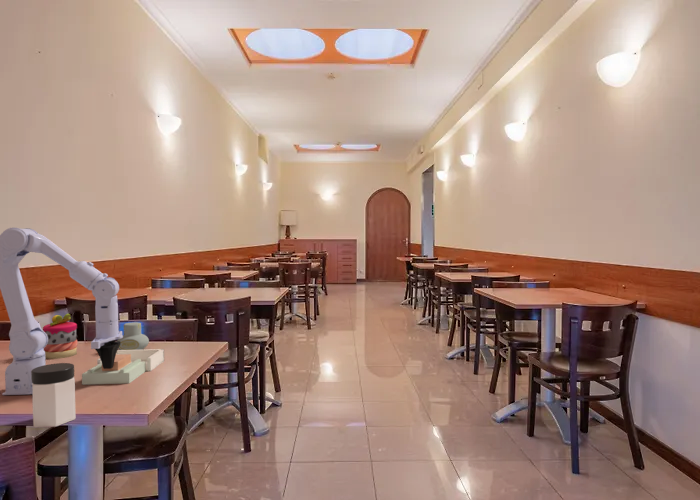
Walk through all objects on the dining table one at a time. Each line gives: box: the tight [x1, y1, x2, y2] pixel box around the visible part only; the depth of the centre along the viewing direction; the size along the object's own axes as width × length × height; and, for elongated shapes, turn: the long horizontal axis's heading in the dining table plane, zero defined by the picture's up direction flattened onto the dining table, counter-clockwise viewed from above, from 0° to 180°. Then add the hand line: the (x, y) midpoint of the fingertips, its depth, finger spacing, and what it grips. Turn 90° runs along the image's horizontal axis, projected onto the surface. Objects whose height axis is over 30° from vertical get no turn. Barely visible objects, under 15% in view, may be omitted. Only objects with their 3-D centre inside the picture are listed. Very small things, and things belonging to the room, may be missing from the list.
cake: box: [42, 313, 79, 360], centre depth 164 cm, size 10×11×15 cm
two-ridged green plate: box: [81, 359, 147, 386], centre depth 136 cm, size 12×13×4 cm
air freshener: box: [116, 321, 150, 350], centre depth 170 cm, size 11×8×10 cm
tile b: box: [115, 354, 131, 366], centre depth 140 cm, size 4×4×2 cm
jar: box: [31, 362, 76, 429], centre depth 104 cm, size 9×8×12 cm
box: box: [96, 348, 165, 372], centre depth 148 cm, size 12×16×4 cm
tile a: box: [102, 358, 125, 371], centre depth 135 cm, size 4×4×2 cm
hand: (108, 368), depth 132 cm, fingers closed
